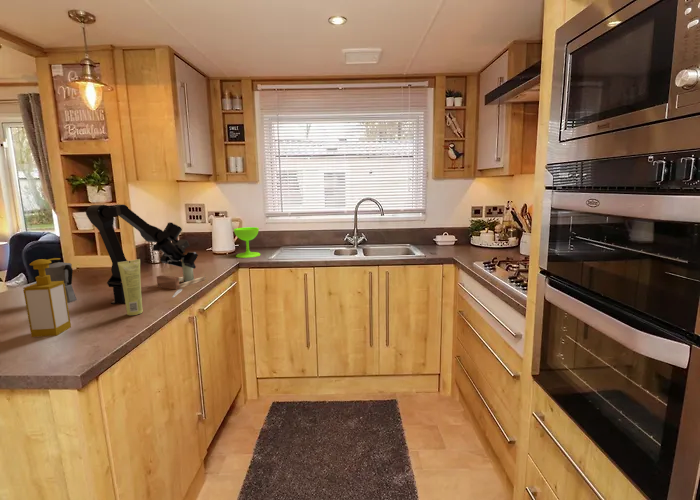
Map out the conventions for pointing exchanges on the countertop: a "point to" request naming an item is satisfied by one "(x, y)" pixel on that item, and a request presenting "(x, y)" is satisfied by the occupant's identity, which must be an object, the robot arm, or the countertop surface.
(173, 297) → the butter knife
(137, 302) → the tube
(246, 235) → the wineglass
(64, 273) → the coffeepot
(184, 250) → the robot arm
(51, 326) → the soap bottle
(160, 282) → the brown piece
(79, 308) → the countertop surface
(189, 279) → the keeper post
